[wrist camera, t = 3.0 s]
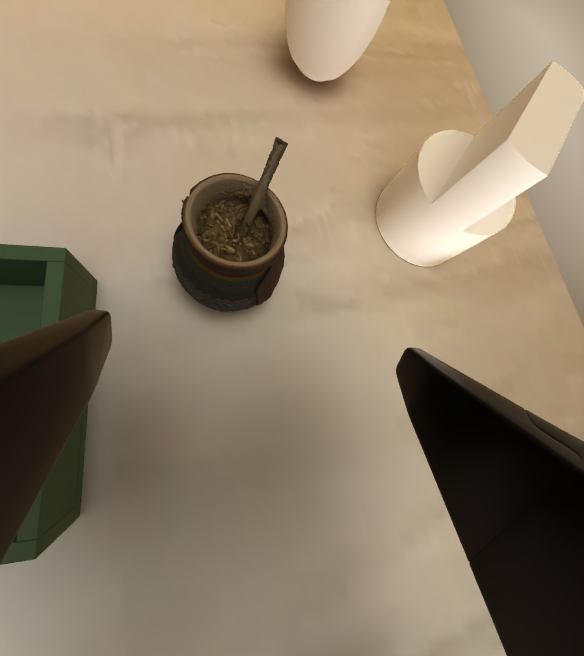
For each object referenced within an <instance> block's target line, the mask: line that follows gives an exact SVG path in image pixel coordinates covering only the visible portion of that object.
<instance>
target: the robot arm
mask: <svg viewBox="0 0 584 656" xmlns="http://www.w3.org/2000/svg"><path fill="white" fill-rule="evenodd" d="M111 343H112V329H111V317H110V314H109V312H107V311H101V310H89V311H86V312H83V313H81V314H78V315H75V316H73V317H70V318H67V319H65V320H62V321H59V322H56V323H54V324H51V325H48V326H46V327H43V328H40V329H38V330H35V331H32V332H30V333H27V334H24V335H21V336H19V337H16V338H13V339H11V340H8V341H5V342H3V343H0V565H1V563H2V561H3V559H4V557H5V555H6V553H7V552H8V550H9V548H10V546H11V544H12V542H13V540H14V539H15V537H16V535H17V533H18V531H19V529H20V527H21V526H22V524H23V522H24V520H25V518H26V516H27V514H28V513H29V511H30V509H31V507H32V505H33V503H34V502H35V500H36V498H37V496H38V494H39V492H40V490H41V489H42V487H43V485H44V483H45V481H46V479H47V477H48V476H49V474H50V472H51V470H52V468H53V466H54V464H55V463H56V461H57V459H58V457H59V455H60V453H61V451H62V450H63V448H64V446H65V444H66V442H67V440H68V438H69V437H70V435H71V433H72V431H73V429H74V427H75V425H76V424H77V422H78V420H79V418H80V416H81V414H82V412H83V411H84V409H85V407H86V405H87V403H88V401H89V399H90V397H91V395H92V393H93V391H94V389H95V386H96V384H97V381H98V379H99V376H100V373H101V371H102V368H103V365H104V363H105V360H106V358H107V355H108V352H109V350H110V347H111ZM396 375H397V378H398V382H399V385H400V388H401V392H402V395H403V399H404V402H405V405H406V408H407V412H408V414H409V417H410V420H411V422H412V425H413V427H414V429H415V432H416V434H417V437H418V439H419V442H420V444H421V446H422V449H423V451H424V454H425V456H426V459H427V461H428V464H429V466H430V468H431V471H432V473H433V476H434V478H435V481H436V483H437V486H438V488H439V490H440V493H441V495H442V498H443V500H444V503H445V505H446V507H447V510H448V512H449V515H450V517H451V520H452V522H453V525H454V527H455V529H456V532H457V534H458V537H459V539H460V542H461V544H462V547H463V549H464V551H465V554H466V556H467V559H468V561H469V562H470V563H469V564H470V567H471V569H472V572H473V574H474V576H475V579H476V581H477V584H478V586H479V589H480V591H481V594H482V596H483V598H484V601H485V603H486V606H487V608H488V611H489V613H490V616H491V618H492V620H493V623H494V625H495V628H496V630H497V633H498V635H499V638H500V640H501V643H502V645H503V647H504V650H505V652H506V655H507V656H584V442H583V441H582V440H580V439H578V438H576V437H574V436H572V435H570V434H569V433H567V432H565V431H563V430H561V429H559V428H558V427H556V426H554V425H552V424H550V423H549V422H547V421H545V420H543V419H542V418H540V417H538V416H536V415H534V414H533V413H531V412H529V411H528V410H524V408H522V407H520V406H519V405H517V404H515V403H513V402H512V401H510V400H508V399H506V398H505V397H503V396H501V395H500V394H498V393H496V392H494V391H493V390H491V389H489V388H487V387H486V386H484V385H482V384H480V383H479V382H477V381H475V380H473V379H472V378H470V377H468V376H466V375H465V374H463V373H461V372H459V371H458V370H456V369H454V368H452V367H451V366H449V365H447V364H445V363H444V362H442V361H440V360H439V359H437V358H435V357H433V356H432V355H430V354H428V353H426V352H425V351H423V350H421V349H418V348H407V349H406V350H405V351H404V353H403V355H402V357H401V359H400V361H399V363H398V365H397V367H396Z"/></svg>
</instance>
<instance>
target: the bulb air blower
mask: <svg viewBox="0 0 584 656" xmlns="http://www.w3.org/2000/svg"><path fill="white" fill-rule="evenodd" d="M390 1H391V0H286V4H285V24H286V34H287V41H288V46H289V50H290V54H291V56H292V59H293V60H294V62H295V63H296V65H297V66H298V68H299V69H300V71H301V72H302V73H303V74H304V75H305V76H307V77H308V78H310V79H312V80H315V81H319V82H322V81H326V80H334V79H336V78H338V77H339V76H341V75H342V74H343V73H345V72H346V71H347V70H348V69H349V68H350V67H351V66H352V65H353V64H354V63H355V62H356V61H357V60H358V59H359V58H360V56H361V55H362V54H363V53H364V51H365V50H366V48H367V47H368V45H369V44H370V42H371V40H372V39H373V37H374V35H375V33H376V31H377V30H378V28H379V26H380V24H381V22H382V20H383V17H384V15H385V13H386V11H387V8H388V6H389V4H390Z"/></svg>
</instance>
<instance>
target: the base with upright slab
mask: <svg viewBox="0 0 584 656" xmlns="http://www.w3.org/2000/svg"><path fill="white" fill-rule="evenodd" d="M583 101H584V88H583V87H582V86H581V85H580V83H579V82H578V81H577V80H576V79H575V78H574V77H573V76H572V75H571V74H570V73H569V72H568V71H566V70H565V69H564V68H562V67H561V66H560V65H559V64H558V63H556V62H554V61H552V62H551V63H550V64H549V65H548V66H547V67H546V68H545V69H544V70H543V71H542V72H541V73H540V74H539V75H538V76H537V77H536V78H535V79H534V80H533V81H531V82H530V83H529V84H528V85H527V86H526V87H525V88H524V89H523V90H522V91H521V92H520V93H519V94H518V95H517V96H516V97H515V98H514V99H513V100H512V101H511V102H510V103H509V104H508V105H507V106H506V107H505V108H504V109H503V110H501V111H500V112H499V113H498V114H497V115H496V116H495V117H494V118H493V119H492V120H491V121H490V122H489V123H488V124H487V125H486V126H485V127H484V128H483V129H482V130H481V131H480V132H479V133H478V134H477V135H476V136H472V135H470V134H468V133H466V132H461V131H457V130H446V131H440V132H438V133H436V134H433V135H432V136H431V137H430V138H429V139H428V140H426V141H425V142H424V144H423V145H422V146H421V147H420V148H419V149H418V150H417V152H416V153H415V154H414V155H413V156H412V157H411V159H410V160H409V161H408V162H407V163H406V164H405V166H404V167H403V168H402V169H401V170H400V171H399V173H398V174H397V175H396V176H395V177H394V178H393V179H392V181H391V182H390V183H389V184H388V185H387V186H386V188H385V189H384V190H383V191H382V193H381V195H380V197H379V199H378V201H377V207H376V219H377V225H378V228H379V230H380V233H381V236H382V237H383V239H384V240H385V242H386V243H387V245H388V246H389V247H390V248H391V249H392V250H393V252H394V253H395V254H396V255H398V256H399V257H401V258H402V259H404V260H405V261H407V262H409V263H412V264H414V265H417V266H424V267H432V266H436V265H440V264H442V263H444V262H445V261H447V260H449V259H451V258H453V257H454V256H456V255H458V254H460V253H461V252H463V251H465V250H467V249H469V248H470V247H472V246H474V245H476V244H478V243H479V242H481V241H483V240H485V239H487V238H488V237H490V236H492V235H494V234H495V233H497V232H499V231H500V230H502V229H503V228H505V227H506V226H507V224H508V223H509V222H510V220H511V219H512V217H513V213H514V210H515V201H516V196H517V195H519V194H520V193H522V192H523V191H525V190H526V189H528V188H529V187H531V186H533V185H534V184H536V183H537V182H539V181H540V180H542V179H543V178H545V177H547V176H548V175H549V173H550V171H551V169H552V166H553V164H554V162H555V160H556V158H557V156H558V154H559V152H560V150H561V147H562V145H563V143H564V141H565V139H566V137H567V135H568V133H569V130H570V128H571V126H572V124H573V122H574V120H575V118H576V116H577V114H578V111H579V109H580V107H581V105H582V103H583Z"/></svg>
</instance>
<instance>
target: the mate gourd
mask: <svg viewBox="0 0 584 656" xmlns="http://www.w3.org/2000/svg"><path fill="white" fill-rule="evenodd" d="M283 142H284V141H283V140H281V139H280V138H278V137H276V138H275V142H274V145H273V149H272V151H271V153H270V155H269V158H268V160H267V163H266V167H265V168H264V172H263V174H262V177H261V179H260V180H259V181H257V180H255V179H253V178H250V177H247V176H244V175H240V174H235V173H222V174H216V175H213V176H210V177H208V178H206V179H204V180H202V181H200V182H199V183H198V184H196V185H195V186H194V187H192V189H191V190H190V196H189V197H188V196H187V197H186V199H185V200H184V201H183V200H182V202H183V205H182V206H183V208H182V212H181V215H182V217H181V219H182V222H181V224H180V225H179V226H178V228H177V229H176V232H175V234H174V242H173V247H172V260H173V268H174V269H175V272H176V275H177V277H178V280H179V282H180V283H181V285H182V287H184V289H185V290H186V291H187V292H188V293H189V294H190V295H191V296H192V297H193V298H194V299H196V300H197V301H199V302H200V303H202V304H203V305H205V306H207V307H210V308H213V309H215V310H219V311H232V312H233V311H239V310H244V309H248V308H250V307H253V306H255V305H256V306H257V305H260V304H262V303H263V302H264V301H266V300H268V299H269V298H270V297H271V295H272V293H273V290H274V288H275V287H276V285H277V283H278V281H279V278H280V275H281V272H282V269H283V266H284V258H285V254H284V244H285V242H286V238H287V232H288V224H287V217H286V213H285V210H284V208H283V206H282V204H281V202H280V201H279V199H278V198H277V197H276V195H275V194H274V193H273V192H272V191H271V190H270V189H269V188H268V186H269V183H270V181H271V180H272V177H273V173H275V171H276V168H277V166H278V165H279V161H280V159H281V158H282V156H283V153H284V151H285V149H286V147H287V145H288V143H286V142H284V143H283Z"/></svg>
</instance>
